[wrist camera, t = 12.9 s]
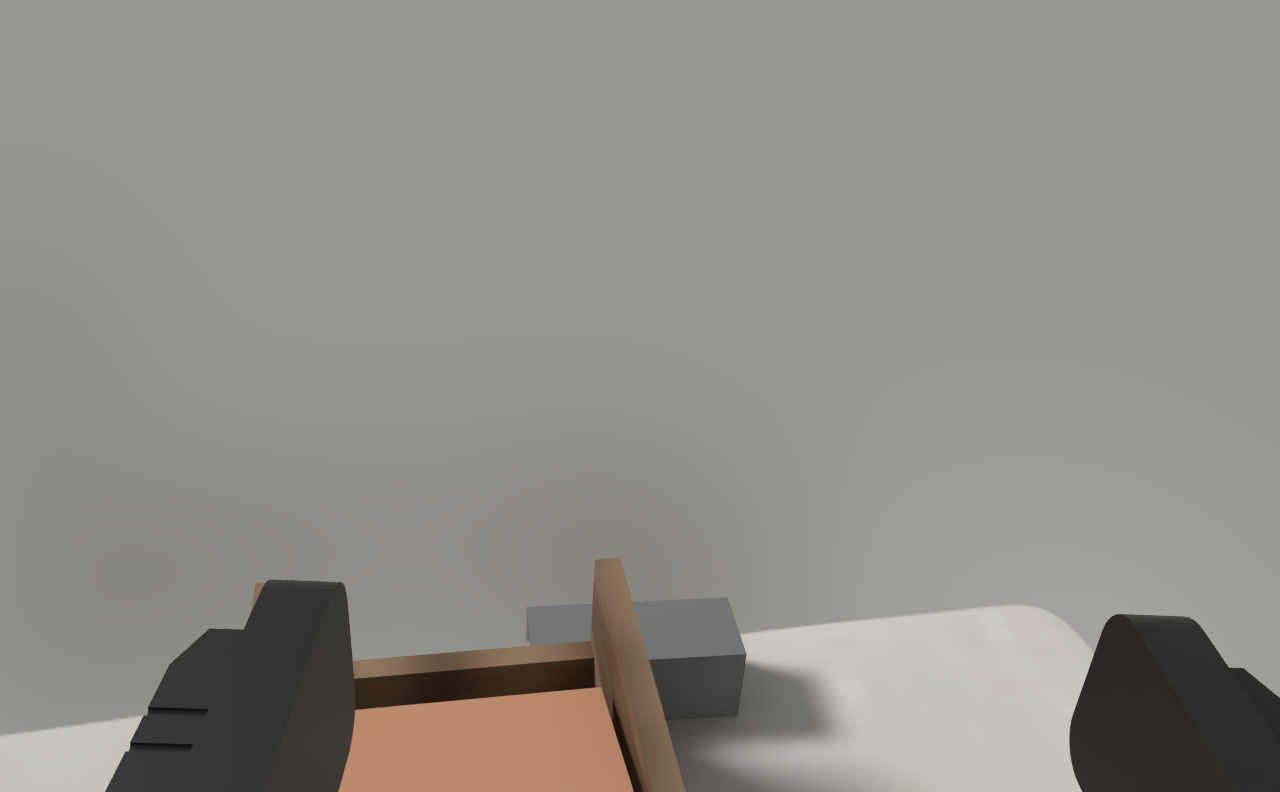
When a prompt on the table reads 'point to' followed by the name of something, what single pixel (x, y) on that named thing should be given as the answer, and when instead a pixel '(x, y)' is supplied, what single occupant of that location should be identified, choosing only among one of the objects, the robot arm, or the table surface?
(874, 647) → the table surface
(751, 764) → the table surface
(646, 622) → the basalt block
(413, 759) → the trapdoor
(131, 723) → the table surface
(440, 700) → the walnut frame
